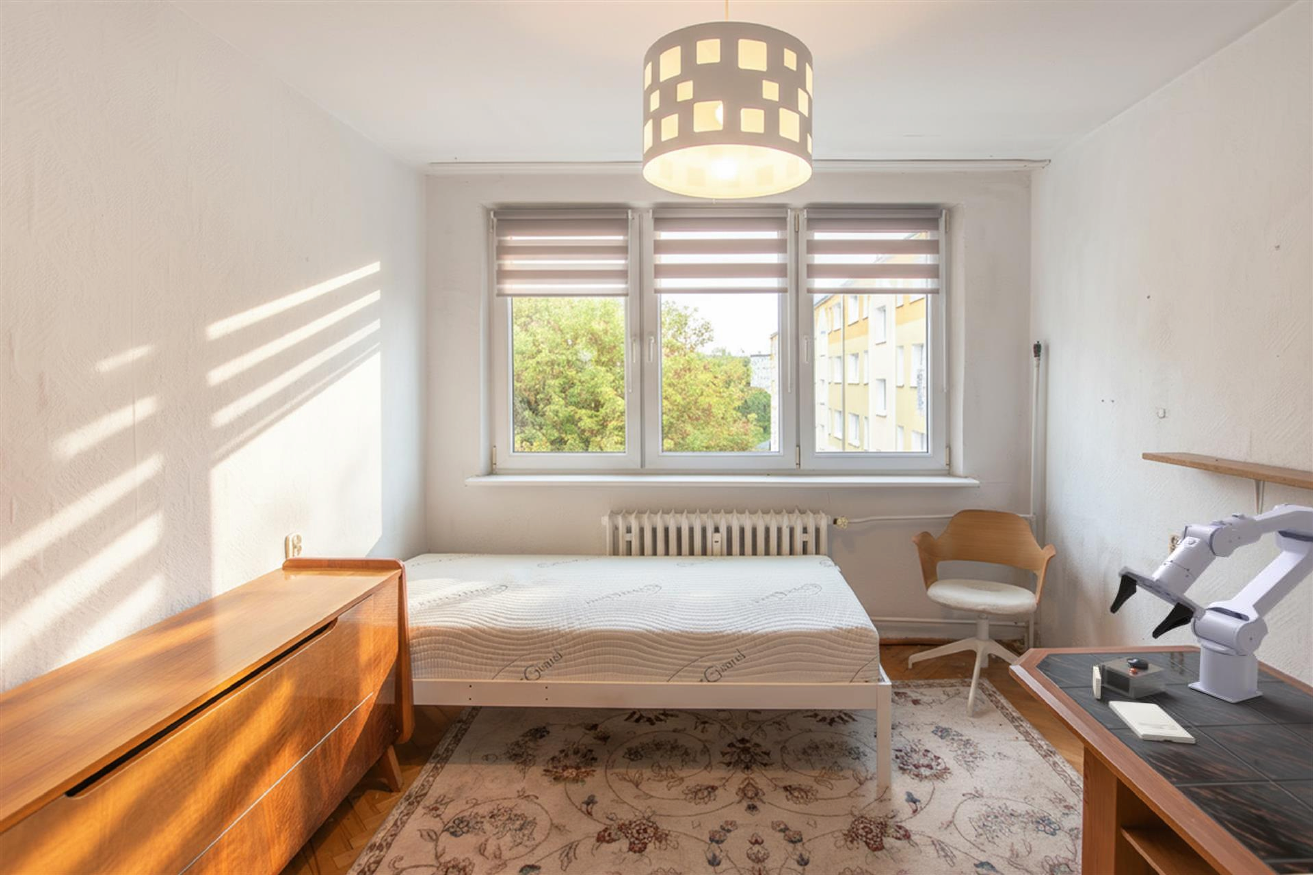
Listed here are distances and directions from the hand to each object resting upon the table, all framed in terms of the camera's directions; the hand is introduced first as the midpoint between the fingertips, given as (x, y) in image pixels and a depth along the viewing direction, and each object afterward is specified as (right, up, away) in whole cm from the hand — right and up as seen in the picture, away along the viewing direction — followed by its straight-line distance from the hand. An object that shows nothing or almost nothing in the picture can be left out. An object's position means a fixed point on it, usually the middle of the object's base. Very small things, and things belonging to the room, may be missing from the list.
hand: (1132, 623), depth 128 cm
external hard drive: (-1, -17, -6) cm, 18 cm away
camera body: (+5, -15, +8) cm, 18 cm away
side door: (-2, -15, +6) cm, 17 cm away
